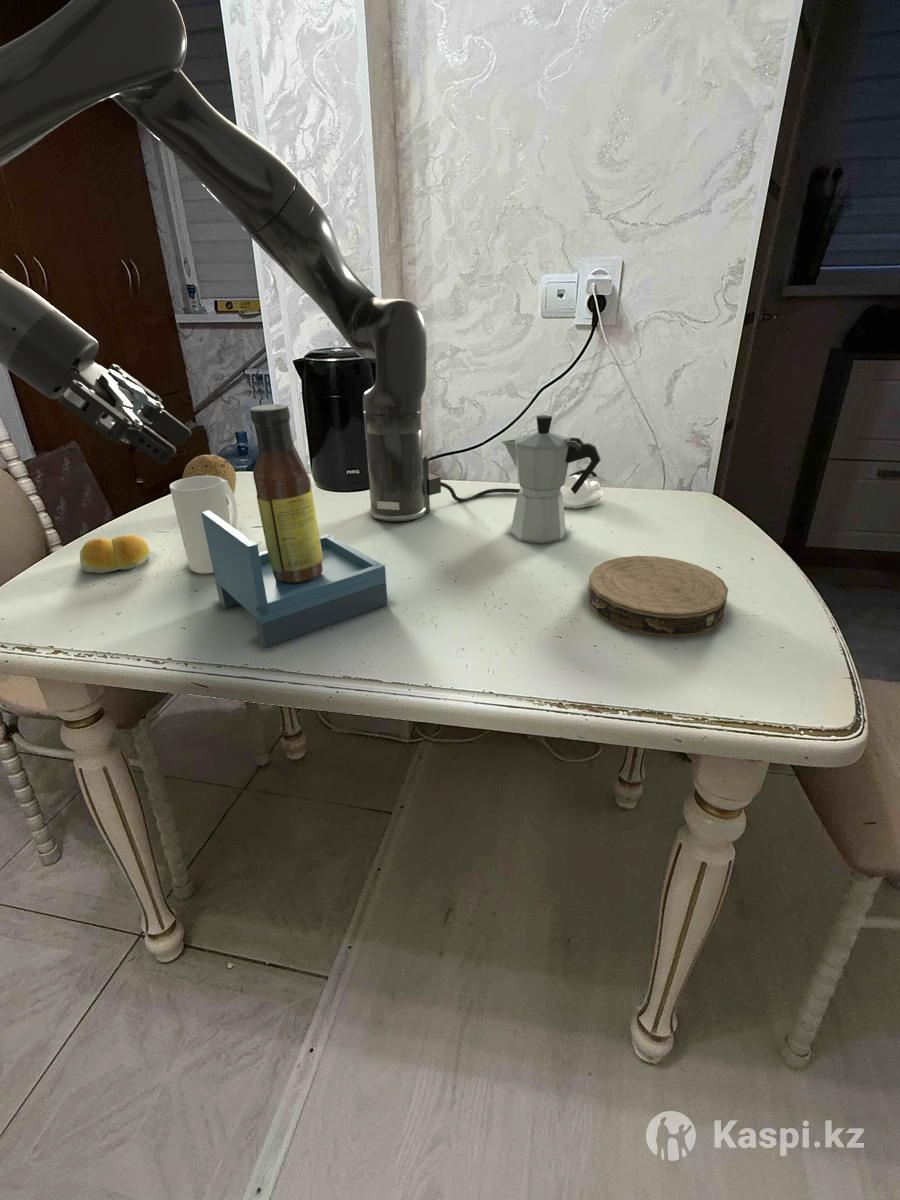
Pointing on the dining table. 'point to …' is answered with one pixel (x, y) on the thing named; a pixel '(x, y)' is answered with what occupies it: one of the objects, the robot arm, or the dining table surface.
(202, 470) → the natural sponge
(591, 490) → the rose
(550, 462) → the coffee maker
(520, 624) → the dining table surface
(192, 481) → the mug
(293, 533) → the sauce bottle
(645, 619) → the wood log slice
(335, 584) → the shelf
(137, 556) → the bread roll
